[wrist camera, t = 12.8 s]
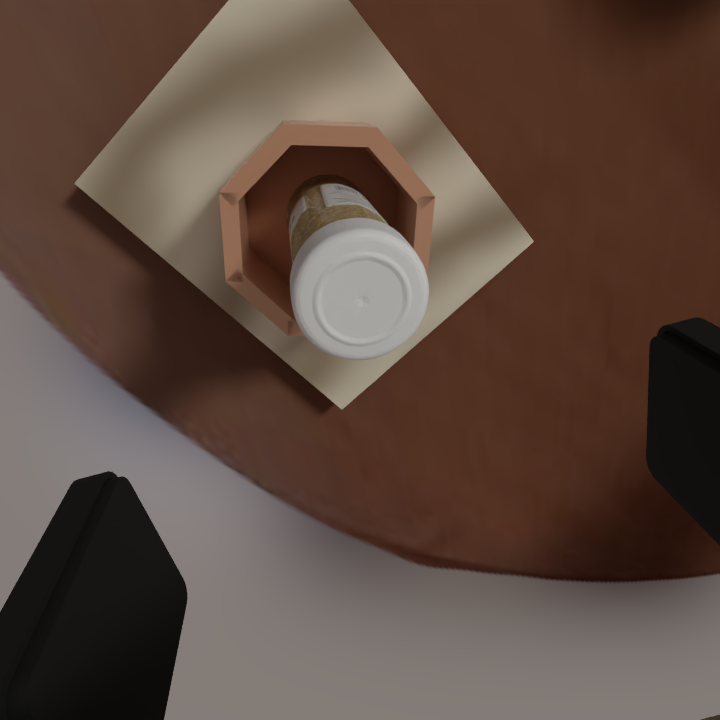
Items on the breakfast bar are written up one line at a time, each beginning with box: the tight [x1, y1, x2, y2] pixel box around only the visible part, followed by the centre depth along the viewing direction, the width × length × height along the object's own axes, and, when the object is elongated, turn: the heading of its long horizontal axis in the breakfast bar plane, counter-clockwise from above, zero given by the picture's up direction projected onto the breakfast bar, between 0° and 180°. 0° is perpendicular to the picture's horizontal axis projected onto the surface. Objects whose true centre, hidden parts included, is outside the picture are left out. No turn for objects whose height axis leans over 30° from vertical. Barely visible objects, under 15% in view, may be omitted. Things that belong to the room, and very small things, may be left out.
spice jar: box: [286, 175, 429, 360], centre depth 23 cm, size 5×5×14 cm
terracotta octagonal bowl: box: [219, 119, 435, 336], centre depth 27 cm, size 10×10×6 cm
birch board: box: [74, 0, 534, 409], centre depth 30 cm, size 20×16×2 cm
